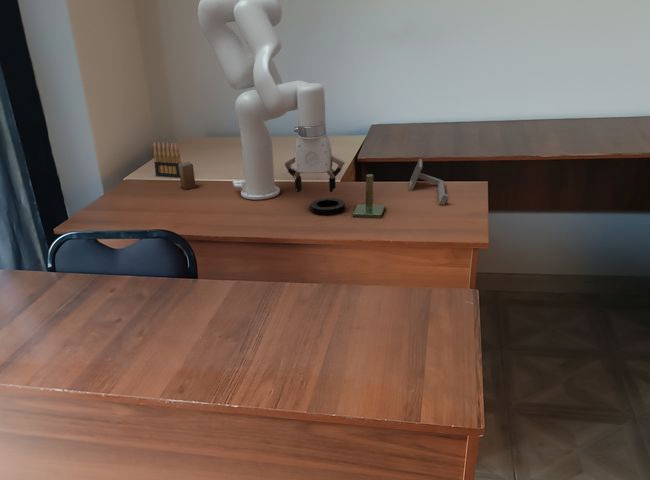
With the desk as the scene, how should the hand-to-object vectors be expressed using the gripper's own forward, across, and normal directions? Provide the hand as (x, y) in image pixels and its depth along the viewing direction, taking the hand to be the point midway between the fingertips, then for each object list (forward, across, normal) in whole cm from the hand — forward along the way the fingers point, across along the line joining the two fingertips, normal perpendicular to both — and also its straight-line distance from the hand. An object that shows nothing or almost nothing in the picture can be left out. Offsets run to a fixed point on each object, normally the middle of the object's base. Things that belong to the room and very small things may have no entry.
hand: (315, 190), depth 195 cm
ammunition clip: (+4, -60, +30) cm, 67 cm away
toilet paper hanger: (+6, +31, +18) cm, 36 cm away
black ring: (+6, +3, 0) cm, 7 cm away
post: (+6, +16, -1) cm, 17 cm away
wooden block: (+4, -48, +18) cm, 52 cm away
